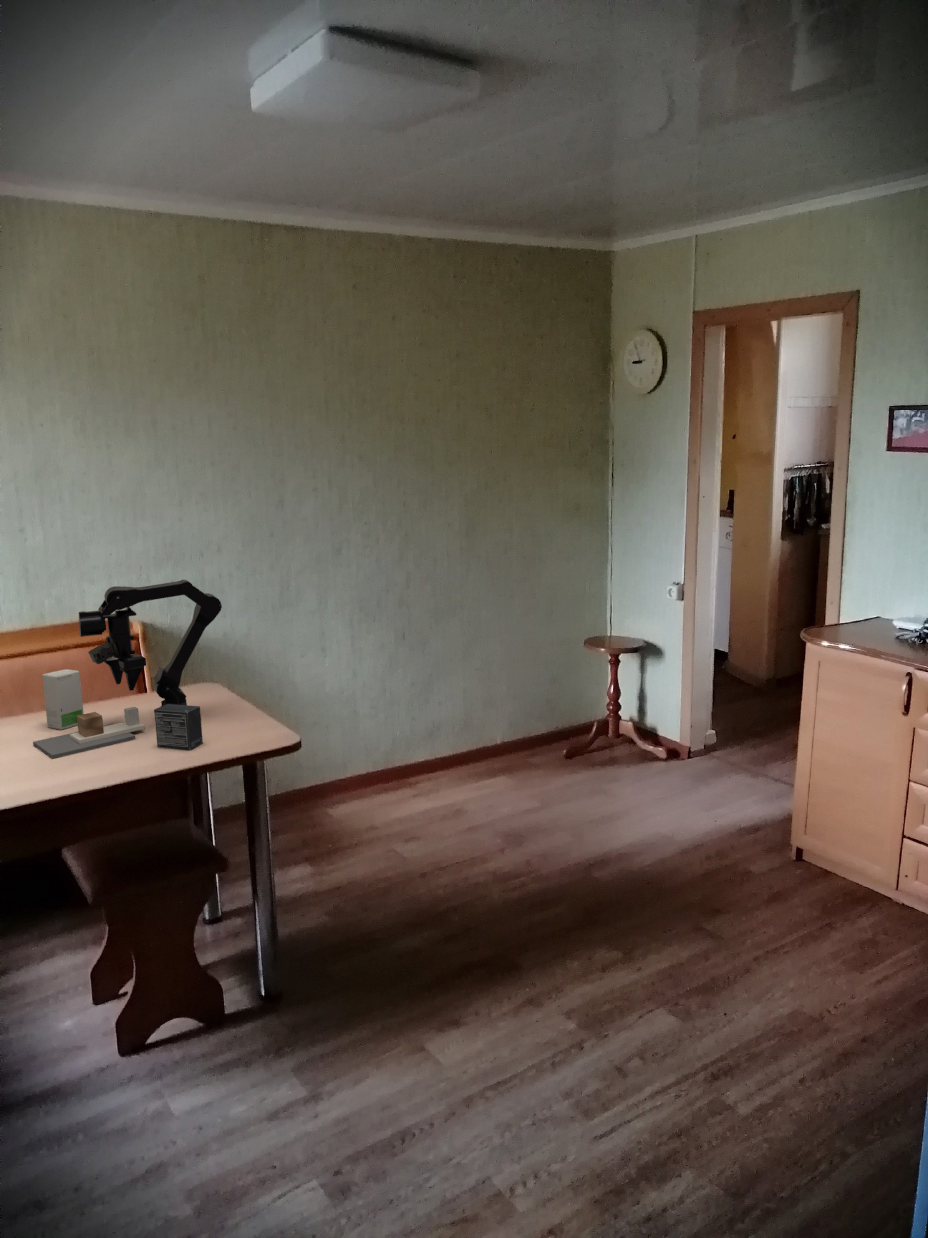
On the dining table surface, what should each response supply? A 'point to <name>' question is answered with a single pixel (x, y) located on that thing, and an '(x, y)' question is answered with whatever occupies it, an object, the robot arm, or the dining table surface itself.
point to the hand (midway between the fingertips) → (124, 687)
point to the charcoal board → (76, 744)
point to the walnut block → (90, 724)
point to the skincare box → (62, 698)
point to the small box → (178, 726)
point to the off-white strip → (115, 727)
